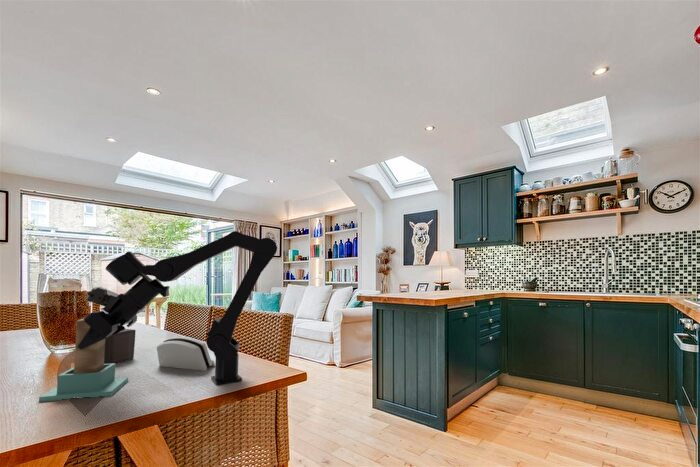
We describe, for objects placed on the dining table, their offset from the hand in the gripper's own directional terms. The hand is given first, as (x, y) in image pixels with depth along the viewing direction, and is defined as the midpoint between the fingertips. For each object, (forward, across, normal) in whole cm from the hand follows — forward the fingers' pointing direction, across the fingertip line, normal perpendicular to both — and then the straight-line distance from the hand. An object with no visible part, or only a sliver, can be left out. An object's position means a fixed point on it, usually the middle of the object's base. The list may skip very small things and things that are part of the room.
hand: (84, 345), depth 86 cm
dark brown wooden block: (+10, -28, +6) cm, 30 cm away
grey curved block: (-6, -16, +22) cm, 28 cm away
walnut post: (+4, 0, +6) cm, 7 cm away
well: (+7, 0, +8) cm, 11 cm away
